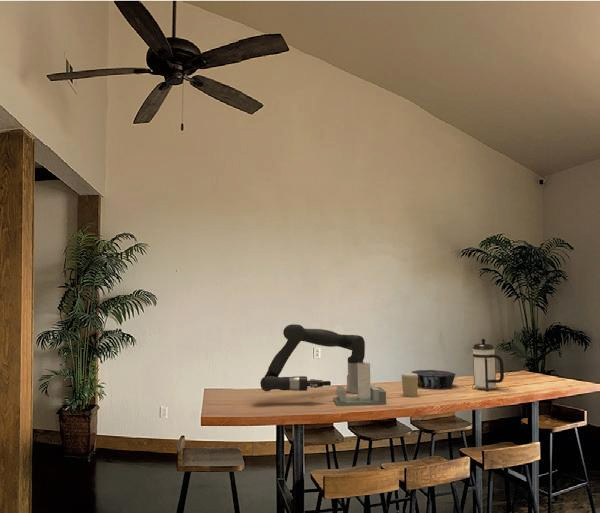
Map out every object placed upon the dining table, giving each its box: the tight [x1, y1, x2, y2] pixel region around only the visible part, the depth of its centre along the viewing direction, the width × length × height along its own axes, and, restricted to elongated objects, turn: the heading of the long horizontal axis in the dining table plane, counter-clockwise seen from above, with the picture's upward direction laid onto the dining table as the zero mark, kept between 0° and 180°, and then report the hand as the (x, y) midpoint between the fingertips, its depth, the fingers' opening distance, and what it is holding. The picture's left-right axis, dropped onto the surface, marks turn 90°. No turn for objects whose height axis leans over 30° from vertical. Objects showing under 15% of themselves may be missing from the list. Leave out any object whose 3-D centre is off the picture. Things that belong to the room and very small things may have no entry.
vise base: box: [332, 384, 387, 407], centre depth 278 cm, size 26×15×8 cm, turn 94°
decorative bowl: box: [411, 369, 457, 390], centre depth 325 cm, size 26×28×10 cm
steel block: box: [357, 362, 371, 400], centre depth 279 cm, size 6×4×19 cm
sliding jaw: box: [336, 385, 347, 402], centre depth 277 cm, size 3×13×6 cm, turn 4°
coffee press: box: [471, 338, 505, 392], centre depth 311 cm, size 17×16×30 cm
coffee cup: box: [400, 372, 419, 398], centre depth 294 cm, size 9×9×12 cm
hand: (330, 383), depth 277 cm, fingers closed
